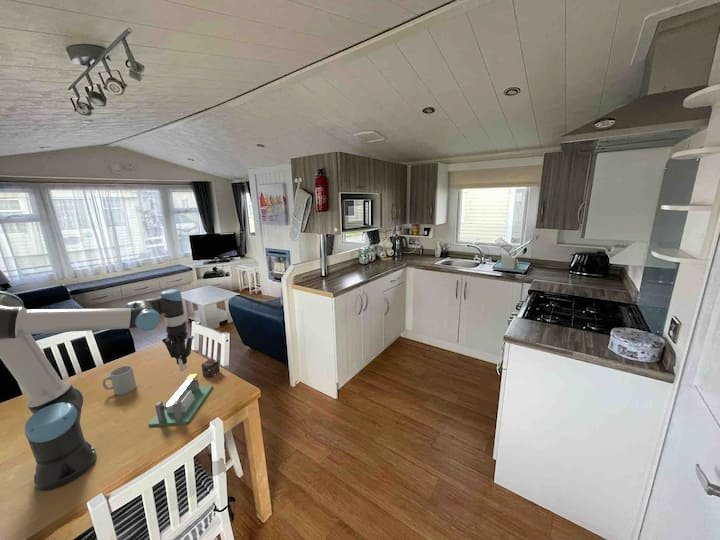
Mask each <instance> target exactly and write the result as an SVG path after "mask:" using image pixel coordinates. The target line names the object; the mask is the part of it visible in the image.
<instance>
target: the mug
mask: <svg viewBox="0 0 720 540" xmlns="http://www.w3.org/2000/svg"><path fill="white" fill-rule="evenodd" d="M133 370H134V369H133V367H132V366H130V365H124V366H119V367H118V368H114V369H113V370H112V371H111V372H110V373H109V374H110V375H108V376H106V377H104V378H103V380H102V387H103V388H104V390H108V391H109V390H113V392H114V395H117V396H122V395H126V394H129V393H131V392H132V391H134V390H135V389H136V388H137V383H136V379H135V374H134V371H133ZM106 381H111V384H112V385H110V386H108V385H107V384H106Z"/></svg>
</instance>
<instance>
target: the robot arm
mask: <svg viewBox="0 0 720 540" xmlns="http://www.w3.org/2000/svg"><path fill="white" fill-rule="evenodd" d="M181 293H182V292H181V291H180V290H179V289H176V288H175V289H173V288H172V289H167V290H163V291H161V292H160V293H159V295H160V296H158V297H152V298H146V299H140V300H134V301H131V302H127V303H126V304H125V308H124V307H123V308H122V307H121V308H119V307H117V308H114V307H113V308H111V307H110V308H108V307H107V308H59V309H53V308H52V309H50V308H49V309H27V308H26V307H25V305H24V302H23V300H22V299H21V297H19V296H18V295H15V294H14V293H12V292H7V291H2V290H0V360H1V361H2V362H3V364H4V366H5V367H6V368H7V369H8V371H9V372H10V374H12V376H13V378H14V379H15V380H16V381H17V383H18V385H19V386H20V387H21V388H22V390H23V391H24V392H25V394H26V395H27V397H28V398H29V399H28V401H27V402H26V406H27V408H28V409H29V410H30V412H31V414H32V415H31V416H30V417H29V418H28V419H27V421H26V422H25V425H24V435H25V438H26V439H27V441H28V443H29V446H30V449H31V451H32V455H33V456H34V460H35V463H36V465H35V466H36V467H35V474H34V476H33V483H34V486H35V488H36V489H37V490H39V491H51V490H55V489H57V488H61V487H62V486H65V485H67V484H69V483H71V482H73V481H74V480H76V479H78V478H79V477H80V476H82V475H83V474H84V473H86V472H87V471H88V470H89V469H90V468H91V467H92V466H93V465H94V463H95V462H96V460H97V452H96V449H95V447H93V446H92V445H91V444H90V443H89V442H88V441H87V440H86V439H85V437H84V433H83V430H82V427H81V418H82V417H81V414H82V409H83V408H82V407H83V404H84V396H83V393H82V392H81V391H80V390H79V389H78V388H76V387H75V386H73V385H72V383H70V382H69V381H63V380H62V379H61V377H60V376H59V374H58V373H57V371H56V370H55V368H54V367H53V365H52V363H50V361H49V359H48V358H47V356H46V355H45V353H44V352H43V350H42V349H41V348H40V346H39V344H38V343H37V341H36V340H35V339H34V337H33V335H36V334H37V335H38V334H54V333H70V332H72V333H73V332H86V331H87V332H88V331H89V332H90V331H103V330H105V331H107V330H123V329H139V330H140V331H146V332H147V331H148V332H149V331H152V330H155V328H157V327H159V326H160V322H161V315H163V316H164V324H165V329H166V334H167V335H166V336H165V337H163V339H162V340H161V341H162V343H164V344H165V347H166V348H167V351H168V354H169V356H170V358H172V359H173V358H175V360H176V364H177V366H178V368H179V372H180V373H181V372H183V373H184V372H185V370H187V363H188V359H187V358H189V356H190V355H191V353H192V346H193V345H192V344H193V340H194V338H195V336H194V335H189V333H188V332H187V329H188V328H187V323H186V317H185V310H184V304H183V303H184V302H183V298H182V294H181Z"/></svg>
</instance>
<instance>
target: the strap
mask: <svg viewBox="0 0 720 540" xmlns="http://www.w3.org/2000/svg"><path fill="white" fill-rule="evenodd" d="M197 377H198V374H197V373H193V374H191V373H190V374H189V375H188V376H187V377H186V380H185V381H184V382H183V384H181V386H180V387H179V388H178V389H179V390H178V389H177V390H178V391H177V390H176V391H177V392H176V391H175V392H176V393H175V392H174V393H175V395H174V396H173V395H172V396H173V397H172V396H171V397H172V398H171V397H170V398H171V400H170V401H169V402H168V403H167V402H166V403H167V406H164V405H163V406H162V407H161V410H172V409H173V403H174V402H175V401H176V400H179V399H180V397H181V396H182V395H183V393H184V392H185V391H186V389H187V388H188V387H189V386H190V384H191V383H192V382H193V380H196V379H197Z"/></svg>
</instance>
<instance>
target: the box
mask: <svg viewBox="0 0 720 540" xmlns="http://www.w3.org/2000/svg"><path fill="white" fill-rule="evenodd" d="M219 364H220V363H219V360H216V359H214V358H213V359H211V358H209V359H207V360H205V361H204V362H203V363H202V364H201V370H202V376H203V377H205V376H206V378H209V377H212V378H214V377H215V376H216V375H218V374H219V373H220V372H221V370H220V365H219ZM219 371H220V372H219ZM218 372H219V373H218ZM217 373H218V374H217ZM215 374H216V375H215ZM214 375H215V376H214ZM213 376H214V377H213Z"/></svg>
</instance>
